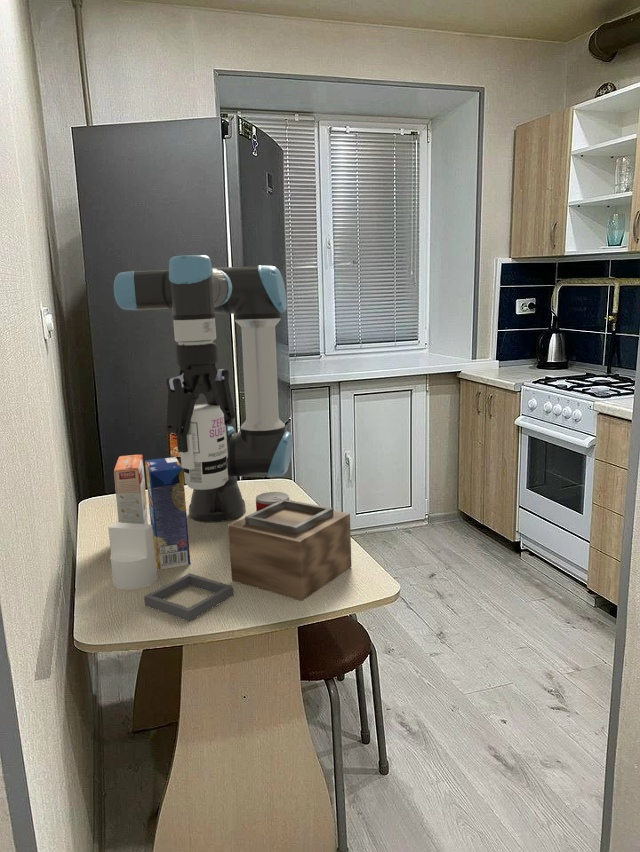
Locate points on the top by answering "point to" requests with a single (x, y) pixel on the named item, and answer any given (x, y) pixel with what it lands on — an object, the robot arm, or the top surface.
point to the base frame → (220, 595)
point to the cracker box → (130, 490)
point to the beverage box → (168, 512)
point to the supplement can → (207, 448)
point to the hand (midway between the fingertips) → (205, 462)
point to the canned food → (269, 499)
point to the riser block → (290, 548)
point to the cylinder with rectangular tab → (132, 555)
